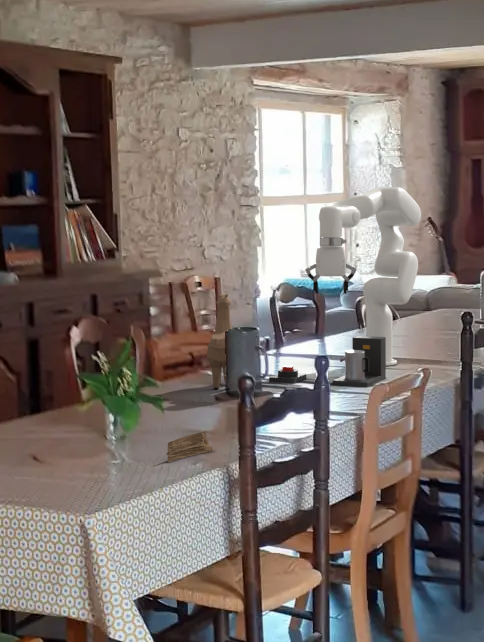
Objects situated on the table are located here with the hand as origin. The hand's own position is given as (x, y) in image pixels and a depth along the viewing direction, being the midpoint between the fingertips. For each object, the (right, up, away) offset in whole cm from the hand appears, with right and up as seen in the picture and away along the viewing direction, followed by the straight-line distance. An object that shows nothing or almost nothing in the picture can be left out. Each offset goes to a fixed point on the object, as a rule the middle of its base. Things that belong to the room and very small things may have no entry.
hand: (330, 293), depth 398 cm
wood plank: (-47, -41, -114) cm, 130 cm away
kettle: (+6, -28, -13) cm, 32 cm away
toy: (-37, -31, -14) cm, 50 cm away
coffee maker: (+9, -29, -9) cm, 32 cm away
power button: (-15, -26, -5) cm, 31 cm away
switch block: (-15, -29, -4) cm, 33 cm away
